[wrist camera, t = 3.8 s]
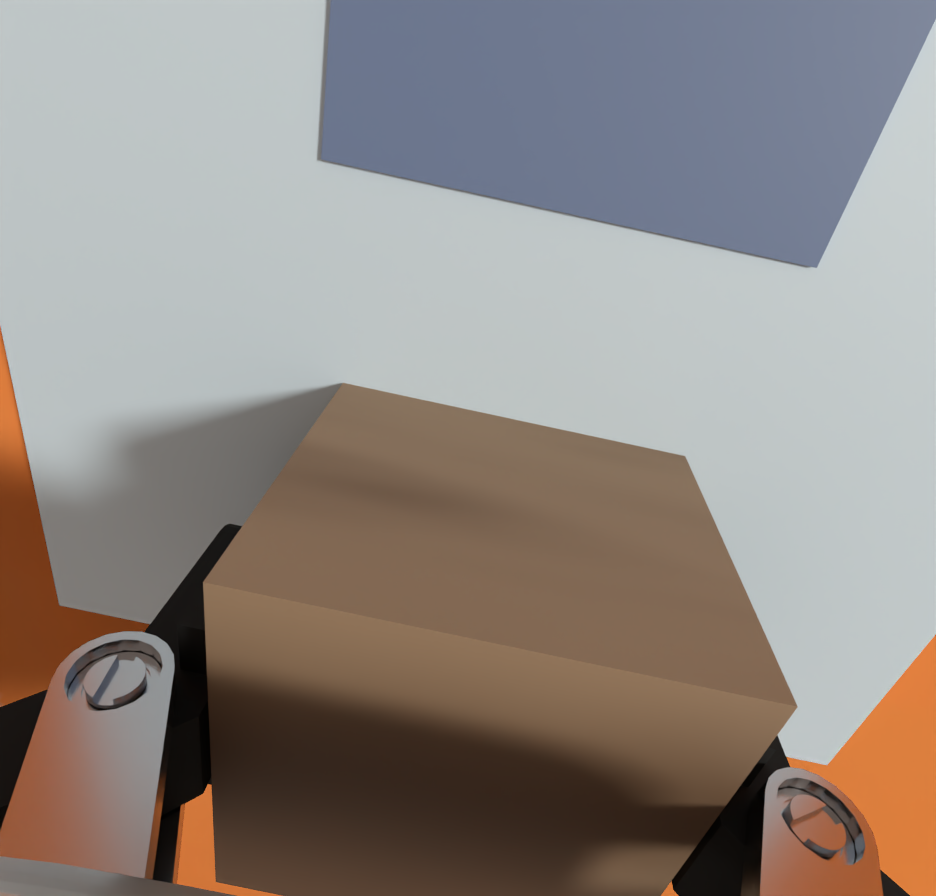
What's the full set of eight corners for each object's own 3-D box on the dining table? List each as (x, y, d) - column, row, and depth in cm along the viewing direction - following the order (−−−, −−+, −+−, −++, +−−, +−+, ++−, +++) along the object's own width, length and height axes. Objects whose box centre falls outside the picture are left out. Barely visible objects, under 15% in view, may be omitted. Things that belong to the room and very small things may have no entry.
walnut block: (585, 683, 13) (612, 962, 9) (320, 628, 13) (215, 882, 9) (684, 456, 10) (797, 706, 6) (343, 382, 10) (203, 581, 6)
